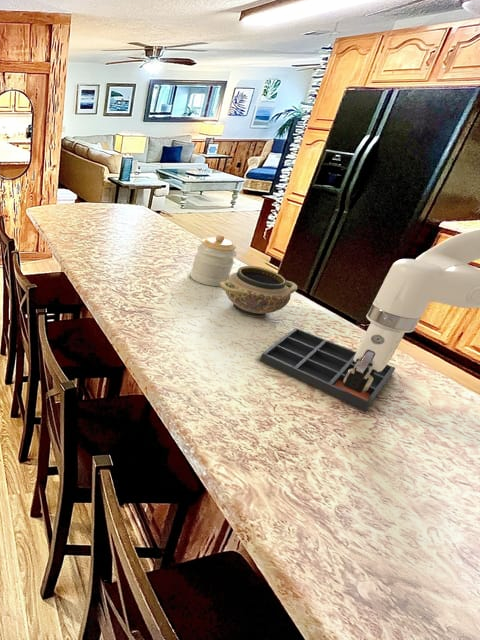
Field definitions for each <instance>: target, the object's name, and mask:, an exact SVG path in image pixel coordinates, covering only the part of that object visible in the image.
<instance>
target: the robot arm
mask: <svg viewBox="0 0 480 640" xmlns="http://www.w3.org/2000/svg"><path fill="white" fill-rule="evenodd" d="M477 260H480V228H475V229H471V230H468V231H464V232H461V233H459V234H456V235H453V236H450V237H449V238H447V239H445V240H443V241H442V242H439V243H438V244H436V245H434V246H432V247H430V248H429V249H427V250H426V251H424V252H422V253H421V254H420V255H418V256H417V257H416V258H415V259H414V258H401V259H398V260H396V261H395V262H393V263H392V265H391V267H390V268H389V271H388V273H387V274H386V276H385V278H384V280H383V283H382V285H381V286H380V288H379V290H378V292H377V294H376V296H375V298H374V300H373V302H372V304H371V306H370V308H369V310H368V311H367V314H366V316H365V318H366V319H367V320H368V321H369V322H370V323H369V325H368V327H367V329H366V331H365V333H364V335H363V336H362V339H361V341H360V343H359V346H358V348H357V350H356V351H355V352H356V354H355V356H354V359H353V360H354V362H355V363H356V365H355V366H354V368H353V370H352V371H351V372H350V373H349V375H348V377H347V379H346V381H345V383H344V386H345V387H348V388H350V389H352V390H354V391H356V392H358V393H361V392H362V391H363V389H364V387H365V385H366V383H367V382H368V380H369V378H368V376H369V375H371V376H373V374H374V372H375V371H376V370H377V372H380V371H382V370H383V369H384V368H385V366H386V365H389V364H388V363H389V362H390V361H391V359H392V357H393V356H394V354H395V352H396V351H397V348H398V347H399V346H400V343H401V341H402V339H403V338H404V336H405V333H412V332H414V330H415V329H416V327H417V325H418V324H419V322H420V320H421V318H422V317H423V315H424V313H425V311H426V310H427V308H428V307H429V304H430V303H439V304H442V305H447V306H451V307H456V308H460V309H461V308H462V309H480V269H479V268H477V267H474V266H472V265H470V264H471V263H472V262H475V261H477Z"/></svg>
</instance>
